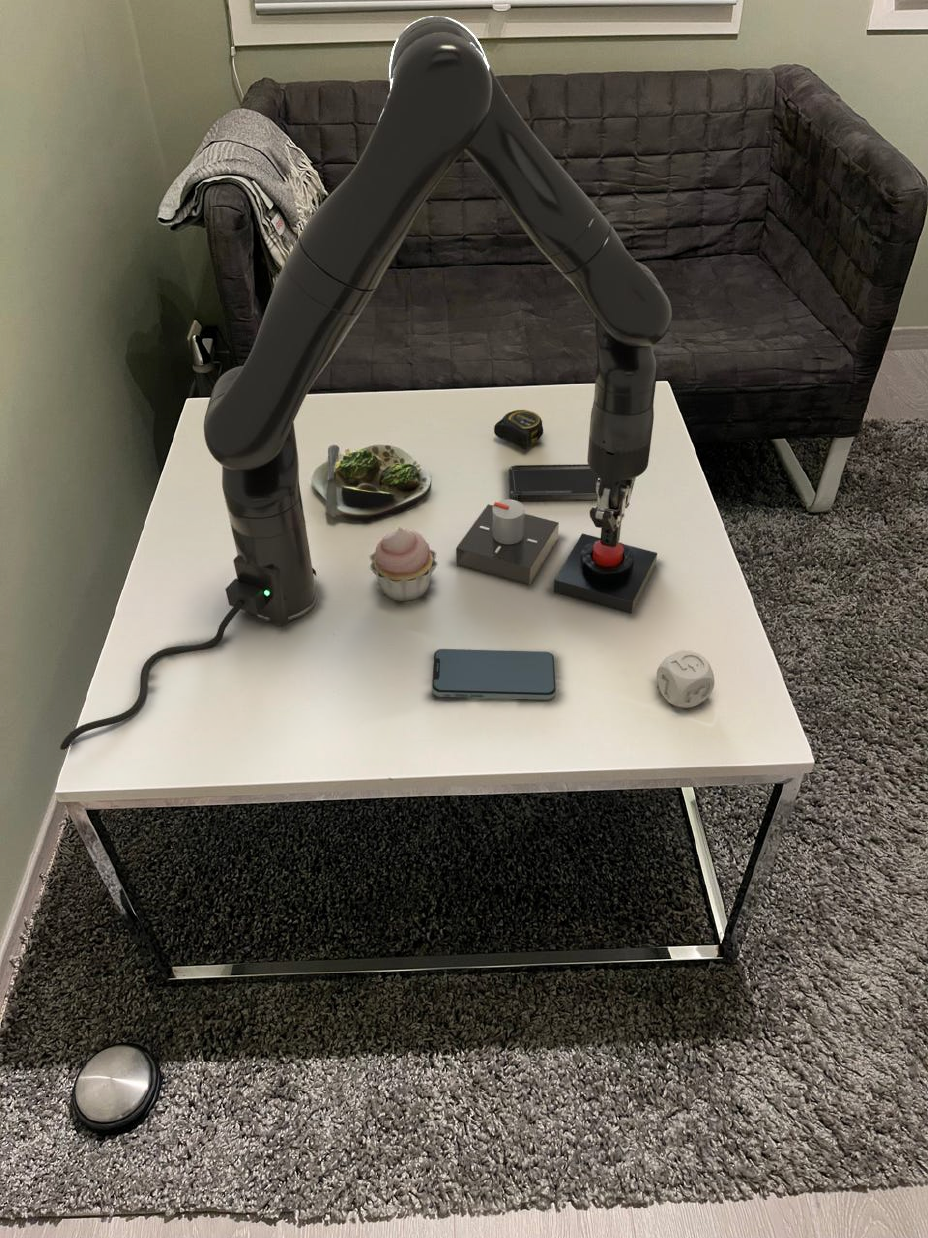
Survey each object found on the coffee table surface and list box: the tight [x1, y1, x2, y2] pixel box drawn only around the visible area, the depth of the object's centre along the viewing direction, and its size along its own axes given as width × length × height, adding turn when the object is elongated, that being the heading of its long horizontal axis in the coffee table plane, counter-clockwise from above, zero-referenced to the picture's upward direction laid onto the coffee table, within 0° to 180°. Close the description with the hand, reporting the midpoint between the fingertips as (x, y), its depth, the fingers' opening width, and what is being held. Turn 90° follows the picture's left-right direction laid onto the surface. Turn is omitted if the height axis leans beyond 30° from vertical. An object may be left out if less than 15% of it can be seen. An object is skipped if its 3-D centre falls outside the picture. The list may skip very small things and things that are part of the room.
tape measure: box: [493, 409, 544, 450], centre depth 163 cm, size 7×7×4 cm
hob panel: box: [455, 503, 560, 586], centre depth 142 cm, size 11×11×3 cm
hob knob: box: [492, 498, 526, 545], centre depth 140 cm, size 4×4×5 cm
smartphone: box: [431, 648, 557, 701], centre depth 125 cm, size 8×2×15 cm
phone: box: [508, 463, 600, 502], centre depth 154 cm, size 8×1×15 cm
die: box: [656, 649, 715, 709], centre depth 122 cm, size 5×5×5 cm
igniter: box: [553, 533, 658, 615], centre depth 138 cm, size 11×11×4 cm
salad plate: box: [310, 443, 433, 522], centre depth 155 cm, size 19×18×5 cm
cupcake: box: [368, 527, 439, 602], centre depth 135 cm, size 9×9×10 cm
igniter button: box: [593, 540, 623, 567], centre depth 136 cm, size 4×4×2 cm
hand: (609, 543), depth 135 cm, fingers closed
